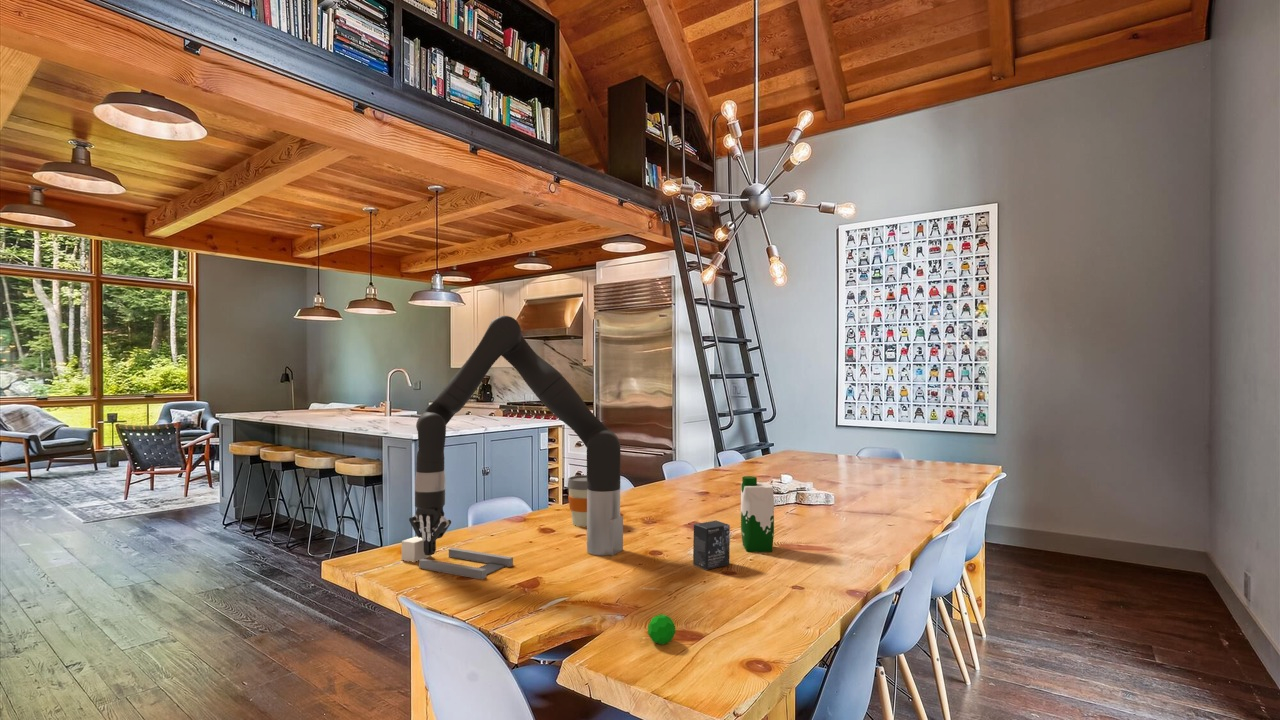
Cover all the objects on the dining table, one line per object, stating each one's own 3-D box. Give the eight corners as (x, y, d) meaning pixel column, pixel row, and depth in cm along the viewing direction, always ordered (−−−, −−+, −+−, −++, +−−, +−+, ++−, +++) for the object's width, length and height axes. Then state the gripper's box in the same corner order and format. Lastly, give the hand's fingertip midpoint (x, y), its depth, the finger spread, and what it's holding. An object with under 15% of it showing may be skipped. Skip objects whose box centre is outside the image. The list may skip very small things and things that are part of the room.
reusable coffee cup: (608, 519, 203) (608, 475, 203) (602, 529, 190) (602, 481, 191) (571, 518, 204) (571, 474, 205) (563, 528, 192) (563, 481, 192)
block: (431, 556, 161) (431, 537, 161) (414, 562, 156) (414, 543, 156) (418, 554, 163) (418, 535, 163) (401, 560, 158) (401, 540, 158)
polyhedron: (659, 651, 105) (659, 624, 106) (642, 641, 109) (642, 615, 110) (680, 644, 108) (680, 617, 108) (664, 634, 112) (664, 608, 112)
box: (706, 570, 149) (706, 528, 150) (692, 565, 154) (692, 523, 154) (730, 565, 154) (730, 524, 154) (715, 559, 158) (715, 519, 159)
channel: (512, 565, 153) (513, 557, 154) (481, 579, 143) (482, 571, 143) (452, 555, 162) (452, 547, 162) (419, 568, 151) (419, 560, 151)
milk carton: (739, 544, 174) (738, 474, 174) (770, 544, 173) (770, 474, 174) (743, 552, 165) (743, 479, 165) (776, 553, 165) (776, 480, 165)
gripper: (459, 487, 159) (459, 553, 158) (422, 484, 164) (421, 547, 164) (439, 492, 152) (438, 561, 151) (400, 488, 157) (399, 555, 157)
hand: (429, 554), depth 157 cm, fingers closed
